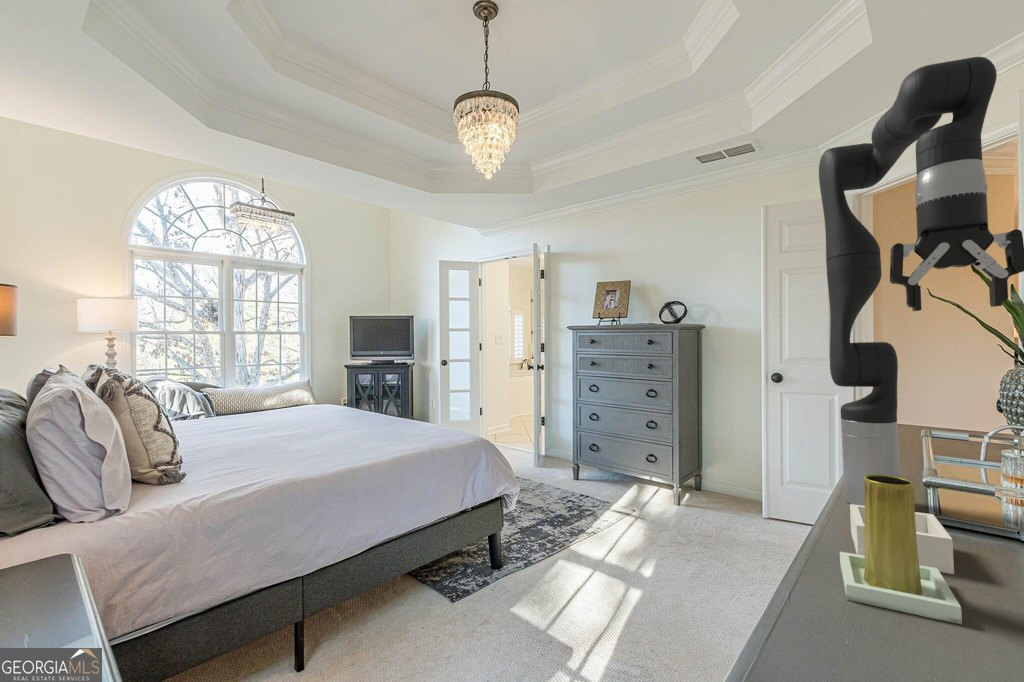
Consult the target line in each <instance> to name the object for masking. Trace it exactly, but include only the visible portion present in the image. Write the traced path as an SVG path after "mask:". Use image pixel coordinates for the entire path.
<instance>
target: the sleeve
mask: <svg viewBox="0 0 1024 682" xmlns="http://www.w3.org/2000/svg"><path fill="white" fill-rule="evenodd" d="M849 511H850V513H849V516H850V532H851V533H850V534H851V537H852V542H853V544H854V549H855V553H856V554H857V555H863V556H865V555H864V550H865V506H862V505H854V504H850V503H849ZM915 523H916V538H917V549H918V558H919V565H922V566H928V567H933V568H937V569H938V570H939V572H940V573H944V574H948V575H955V567H954V566H955V565H954V545H953V543H954V542H953V538H952V536H950V533H948V531H947V530H946V529H945V527H944V526H943V525H942V524H941V523H940V521H939V520H938V518H937V517H936V516H935V515H934V514H933V513H925V512H917V511H915Z"/></svg>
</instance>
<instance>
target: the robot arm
mask: <svg viewBox="0 0 1024 682" xmlns="http://www.w3.org/2000/svg"><path fill="white" fill-rule="evenodd" d="M997 75H998V74H997V69H996V67H995V65H994V63H993V62H992V61H991V60H990V59H989V58H987V57H983V56H973V57H967V58H961V59H956V60H951V61H950V60H949V61H944V62H939V63H932V64H931V63H930V64H927V65H924V66H921V67H919V68H917V69H915V70H913V71H912V72H910V73H909V74H908V75H906V77H905V78H904V79H903V80H902V82H901V84H900V87H899V90H898V93H897V96H896V99H895V101H894V103H893V105H892V106H890V107H889V109H888V110H887V111H885V113H884V114H883V115H882V116H880V118H879V119H878V121H877V122H876V123H875V125H874V126H873V129H872V131H871V136H870V137H871V139H870V140H871V142H870V143H869V142H868V143H866V142H865V143H864V142H863V143H857V144H850V145H849V144H848V145H842V146H835V147H832V148H827V149H826V150H825V151H824V152H823V153H822V155H821V156H820V160H819V164H818V165H819V166H818V182H819V189H820V190H819V191H820V196H821V205H822V208H823V209H822V210H823V217H824V227H825V229H824V230H825V258H826V259H825V264H826V278H827V279H826V280H827V289H828V301H829V315H830V316H829V321H830V322H829V326H830V327H829V337H830V338H829V370H830V376H831V380H832V382H833V383H834V384H835V385H836V386H837V387H842V388H843V387H847V388H848V387H849V388H852V387H853V388H854V387H857V388H859V387H861V388H865V387H866V388H867V387H868V388H872V390H871V392H870V393H868V394H867V395H866V396H864V397H862V398H860V399H857V400H853V401H850V402H846V403H844V404H842V405H841V406H840V427H841V428H840V429H841V431H840V432H841V449H842V473H843V475H842V476H843V498H844V500H845V502H846V503H848V504H849V505H850V504H854V505H862V506H865V483H864V476H866V475H872V474H877V475H889V476H896V477H900V456H899V455H900V453H899V449H900V448H899V436H898V435H899V434H898V432H899V431H898V376H899V375H898V374H899V365H898V355H897V351H896V349H895V348H894V346H893V345H892V344H891V343H889V342H886V341H885V342H884V341H873V342H872V341H869V342H867V341H866V342H865V341H864V342H851V333H852V329H853V326H854V323H855V321H856V319H857V317H858V316H859V313H860V312H861V311H862V309H863V307H864V306H865V305H866V303H867V302H868V300H869V299H870V298H871V296H872V295H873V293H874V292H875V291H876V289H877V288H878V287H879V286H878V285H879V284H880V281H881V279H882V275H883V274H882V259H881V258H882V257H881V247H880V245H879V243H878V241H877V239H876V238H875V237H874V235H873V234H872V233H871V232H870V231H869V229H868V228H866V226H864V224H862V222H861V221H860V220H859V219H858V218H857V217H856V215H854V213H853V212H852V210H851V208H850V207H849V204H848V201H847V199H846V194H845V192H846V191H854V190H864V189H867V188H872V187H874V186H875V185H877V184H879V182H880V181H881V180H882V179H884V177H885V176H886V175H887V174H888V173H889V171H890V170H891V169H892V168H893V166H895V164H896V163H897V161H898V160H899V159H900V158H901V156H902V155H903V153H904V152H905V151H906V150H907V149H908V148H909V147H911V145H912V144H914V143H915V142H916V143H915V166H916V168H915V169H916V170H915V171H916V181H915V191H914V192H915V213H916V237H917V238H916V241H915V242H914V243H901V242H897V243H895V244H894V245H892V246H891V248H890V257H889V259H890V263H889V282H890V283H891V284H893V285H895V284H896V285H900V286H904V287H905V291H906V292H905V293H906V294H905V295H906V306H907V307H908V308H912V312H920V311H922V289H921V288H922V287H921V285H919V282H920V281H921V280H922V279H923V277H924V276H925V275H926V274H928V272H929V271H930V270H931V269H932V268H934V269H937V270H945V269H947V268H951V267H952V268H966V267H968V266H971V265H972V266H974V267H975V268H976V269H977V270H979V271H981V272H982V273H984V274H985V275H986V276H987V277H989V278H990V279H991V280H989V281H988V288H989V289H988V290H989V292H988V293H989V306H990V307H991V308H994V307H1001V306H1003V303H1005V302H1007V301H1008V298H1009V287H1008V286H1009V283H1008V280H1009V278H1010V277H1012V276H1014V275H1016V274H1017V275H1018V274H1020V273H1023V272H1024V237H1023V231H1022V230H1021V229H1017V228H1015V229H1013V230H1010V231H1008V232H1007V231H1006V232H1002V233H996V234H992V232H990V229H989V215H988V195H987V192H988V183H987V179H986V176H987V175H986V171H985V168H984V163H983V149H982V147H983V145H982V131H983V128H984V127H983V126H984V122H985V119H986V115H987V111H988V107H989V104H990V101H991V98H992V94H993V93H994V89H995V86H996V83H997ZM945 114H952V120H951V122H948V123H945V124H943V125H940V126H937V127H935V126H936V125H937V124H938V123H939V122H940V120H941V118H942V116H943V115H945ZM993 243H996V244H997V246H998V247H999V248H1000V249H1004V254H1005V261H1006V267H1003V266H1002V265H1000V263H998V262H997V260H996V259H995V258H993V256H991V255H990V254H989V253H987V252H986V251H987V249H988V248H990V246H991V245H992V244H993ZM912 251H913V252H914V253H915V254H917V256H919V257H920V258H921V259H922V260H921V263H919V264H918V266H916V268H915V269H914V271H913V272H912V273H911V274H910V275H909V276H907V275H904V259H906V258H908V257H909V256H910V252H912ZM900 478H901V477H900Z"/></svg>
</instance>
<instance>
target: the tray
mask: <svg viewBox="0 0 1024 682" xmlns="http://www.w3.org/2000/svg"><path fill="white" fill-rule="evenodd" d="M839 566H840V570H841V576H842V582H843V586H844V591H845V596H846V600H847V601H851V602H856V603H859V604H865V605H870V606H874V607H879V608H883V609H887V610H893V611H898V612H902V613H905V614H910V615H917V616H920V617H926V618H929V619H935V620H939V621H945V622H949V623H952V624H959V625H963V618H962V617H963V616H962V614H963V613H962V607H961V605H960V603H959V601H958V599H956V597H955V594H954V593H953V592H952V590H951V588H950V587H949V584H948V583H947V581H946V580H945V579H944V577H943V575H942V574H941V572H939V570H938V569H937V568H933V567H928V566H922V565H919V567H920V578H921V587H922V594H921V595H914V594H909V593H904V592H899V591H894V590H889V589H883V588H878V587H873V586H870V585H869V584H868V583H867V582H866V581H865V580H864V571H865V556H863V555H857V553H850V552H845V551H839Z"/></svg>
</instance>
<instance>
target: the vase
mask: <svg viewBox="0 0 1024 682" xmlns="http://www.w3.org/2000/svg"><path fill="white" fill-rule="evenodd" d="M864 483H865V550H864V555H865V571H864V580H865V581H866V582H867V583H868V584H869V585H870V586H873V587H878V588H883V589H889V590H894V591H899V592H904V593H909V594H914V595H921V594H922V587H921V578H920V567H919V558H918V549H917V538H916V523H915V512H916V511H915V510H916V505H915V504H916V500H915V497H916V495H915V485H914V481H912V480H910V479H909V478H908V479H907V478H905V477H896V476H889V475H877V474H872V475H866V476H864Z"/></svg>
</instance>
